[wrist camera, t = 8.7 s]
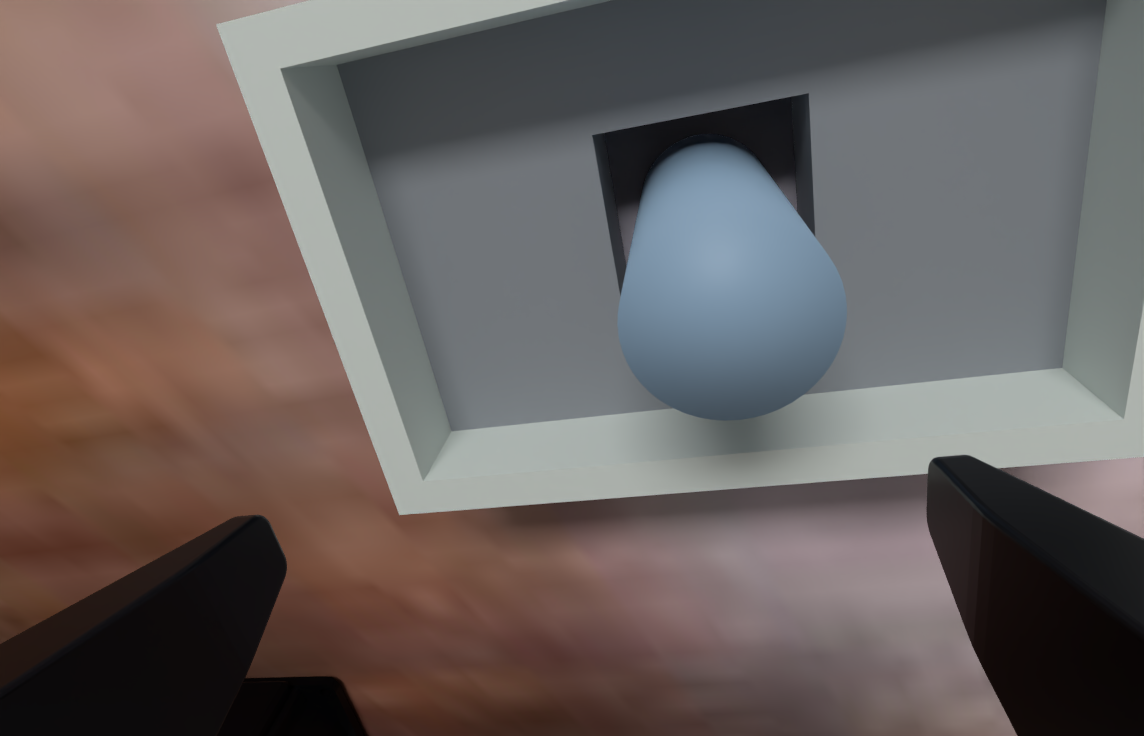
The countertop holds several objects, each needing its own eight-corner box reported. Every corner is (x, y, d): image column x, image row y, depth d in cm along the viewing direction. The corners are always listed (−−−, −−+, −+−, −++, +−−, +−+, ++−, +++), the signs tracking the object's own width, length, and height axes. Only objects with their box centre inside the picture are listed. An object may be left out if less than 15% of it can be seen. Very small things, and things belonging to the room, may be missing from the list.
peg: (773, 250, 18) (849, 409, 10) (651, 268, 19) (635, 429, 11) (763, 122, 17) (844, 192, 9) (632, 146, 18) (599, 233, 10)
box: (1052, 356, 19) (1170, 454, 14) (453, 421, 22) (399, 515, 18) (1110, -164, 14) (1319, -262, 9) (332, 28, 17) (215, 24, 13)
